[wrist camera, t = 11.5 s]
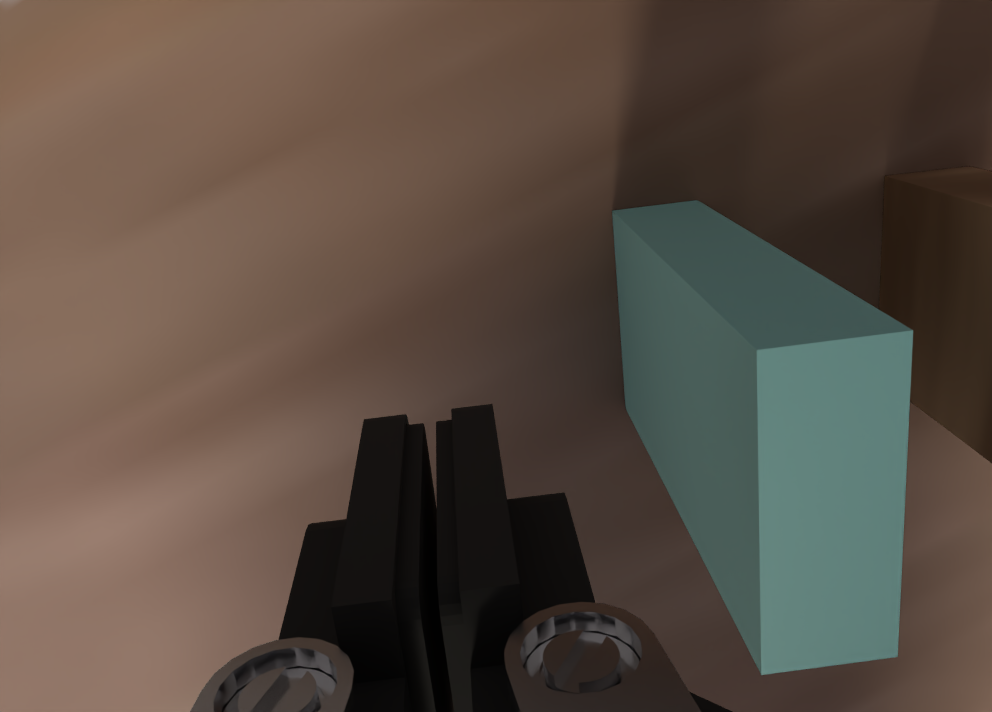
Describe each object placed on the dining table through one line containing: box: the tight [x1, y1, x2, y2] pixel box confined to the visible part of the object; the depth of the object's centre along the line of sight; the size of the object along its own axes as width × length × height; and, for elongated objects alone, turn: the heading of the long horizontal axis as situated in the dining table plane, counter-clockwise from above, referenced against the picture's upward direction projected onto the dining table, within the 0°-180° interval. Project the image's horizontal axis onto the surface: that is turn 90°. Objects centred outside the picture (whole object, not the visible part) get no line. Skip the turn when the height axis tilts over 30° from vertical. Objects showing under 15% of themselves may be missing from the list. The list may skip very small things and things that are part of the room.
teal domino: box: [612, 200, 913, 675], centre depth 17 cm, size 2×5×10 cm, turn 6°
